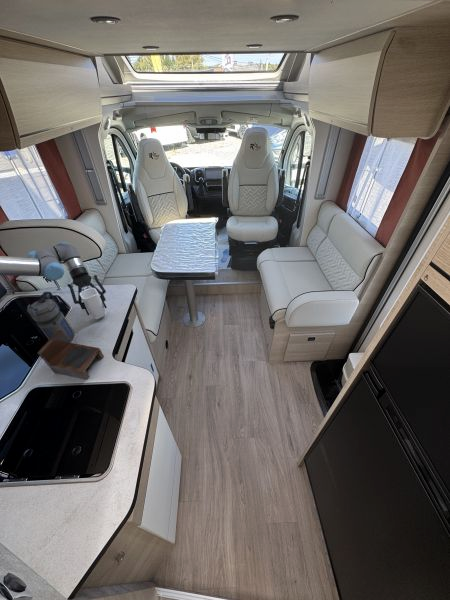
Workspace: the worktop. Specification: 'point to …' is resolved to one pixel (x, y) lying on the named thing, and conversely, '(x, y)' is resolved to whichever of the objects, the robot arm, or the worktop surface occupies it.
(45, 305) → the beverage bottle
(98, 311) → the cup
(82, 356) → the shelf
